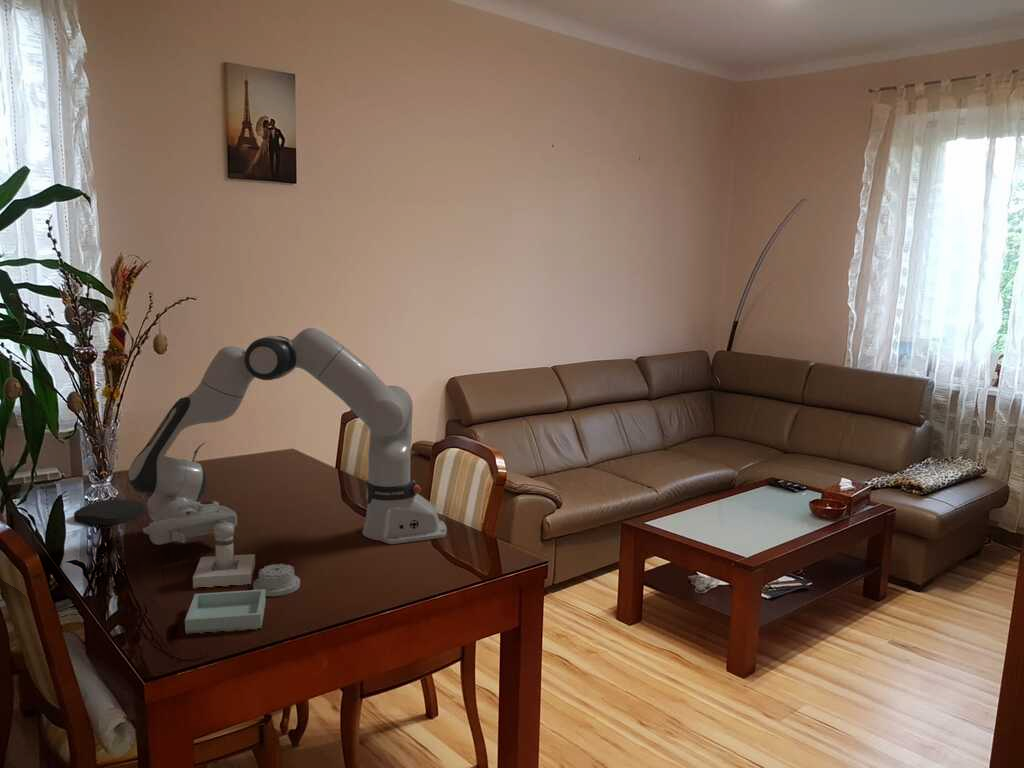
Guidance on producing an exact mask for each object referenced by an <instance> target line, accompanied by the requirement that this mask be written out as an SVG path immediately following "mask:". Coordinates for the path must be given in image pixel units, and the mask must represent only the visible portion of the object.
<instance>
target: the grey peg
mask: <svg viewBox="0 0 1024 768" xmlns="http://www.w3.org/2000/svg"><path fill="white" fill-rule="evenodd" d="M213 529H214V532H213V537H214V544H215V545H214V547H215V556H216V567H215V571H218V570H234V569H235V565H234V555H235V554H234V535H235V528H234V524H233V523H228V522H225V523H218V524H216V525H214V526H213Z"/></svg>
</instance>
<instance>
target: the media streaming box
mask: <svg viewBox="0 0 1024 768" xmlns="http://www.w3.org/2000/svg"><path fill="white" fill-rule="evenodd" d="M143 512H144V513H145V504H144V503H142V502H140V501H136V500H130V499H111V500H110V499H109V500H103V501H97V502H92V503H89V504H87V505H85V506H82V507H81V508H79V509H76V511H74V513H73V516H74V517H73V520H74V522H75V523H77V524H86V525H94V526H95V525H96V526H106V525H108V526H116V525H115V524H117V525H120V524H119V523H121V524H123V523H122V522H124V521H126V522H128V521H130V520H132V519H131V518H133V517H135V516H137V515H139V514H141V513H143ZM144 513H143V514H144ZM141 515H142V514H141ZM139 516H140V515H139ZM137 517H138V516H137ZM135 518H136V517H135ZM129 519H130V520H129ZM133 519H134V518H133ZM127 520H128V521H127ZM124 523H125V522H124Z"/></svg>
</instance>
